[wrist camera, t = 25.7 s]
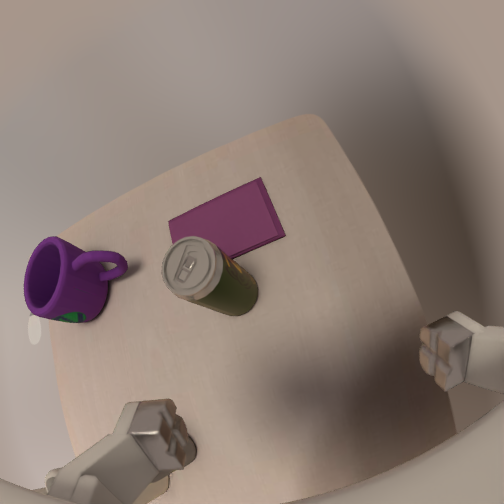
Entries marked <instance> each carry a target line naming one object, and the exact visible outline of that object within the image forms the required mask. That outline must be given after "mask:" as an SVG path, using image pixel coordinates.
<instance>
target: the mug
mask: <svg viewBox="0 0 504 504" xmlns="http://www.w3.org/2000/svg"><path fill="white" fill-rule="evenodd" d="M100 262H112V263H115V264H116V265H117V267H115V268H113V269H111V270H108V271H105V269H104V267H103V266H102V264H101V263H100ZM127 269H128V265H127V261H126V260H125V258H124V257H123V256H122V255H120V254H119V253H116V252H112V251H89V252H85V251H83V250H81V249H79V248H78V247H76V246H74V245H72V244H70V243H69V242H67V241H65V240H63V239H61V238H59V237H56V236H55V237H48V238H46V239H44V240H43V241H42V242H41V243H40V244H39V245H38V246H37V247H36V249H35V250H34V252H33V253H32V255H31V257H30V260H29V262H28V265H27V269H26V273H25V279H24V296H25V301H26V304H27V306H28V308H29V310H30V311H31V312H32V313H33V314H34V315H36V316H39V317H43V318H47V319H51V320H56V321H63V322H69V323H82V322H87V321H90V320H91V319H93V318H95V317H96V316H97V315H98V314H99V312H100V311H101V309H102V307H103V305H104V303H105V300H106V296H107V291H108V280H112V279H115V278H117V277H119V276H121V275H123V274H124V273H125V272H126V271H127Z"/></svg>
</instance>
